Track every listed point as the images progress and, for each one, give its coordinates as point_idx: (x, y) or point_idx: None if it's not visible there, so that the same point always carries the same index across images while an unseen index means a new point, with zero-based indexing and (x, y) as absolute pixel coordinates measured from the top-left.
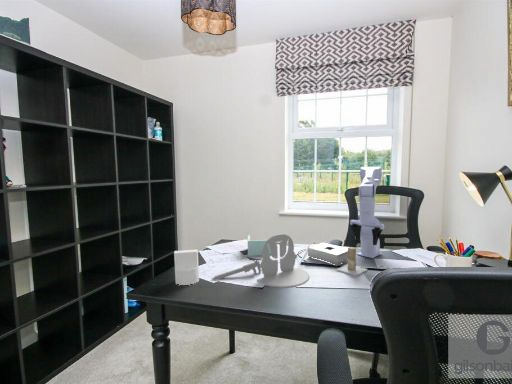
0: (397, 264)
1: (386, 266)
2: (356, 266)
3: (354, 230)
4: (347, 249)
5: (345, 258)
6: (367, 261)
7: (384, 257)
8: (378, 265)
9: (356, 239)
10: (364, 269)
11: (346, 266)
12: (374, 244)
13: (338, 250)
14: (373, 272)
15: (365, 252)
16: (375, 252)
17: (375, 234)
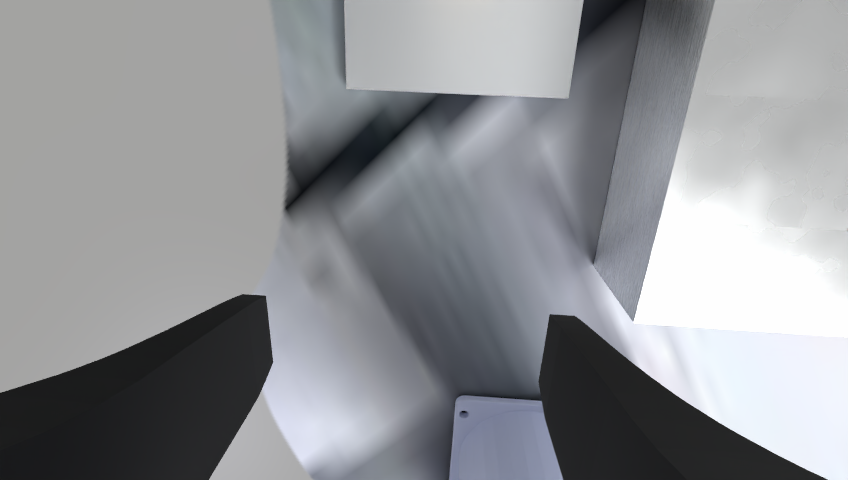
0: None
1: (291, 296)
2: (462, 84)
3: (731, 465)
4: (678, 281)
5: (632, 161)
6: (459, 310)
7: (399, 461)
8: (347, 278)
9: (581, 329)
10: (364, 59)
11: (547, 3)
12: (233, 300)
13: (779, 168)
14: (289, 83)
15: (529, 431)
16: (459, 473)
17: (3, 402)
